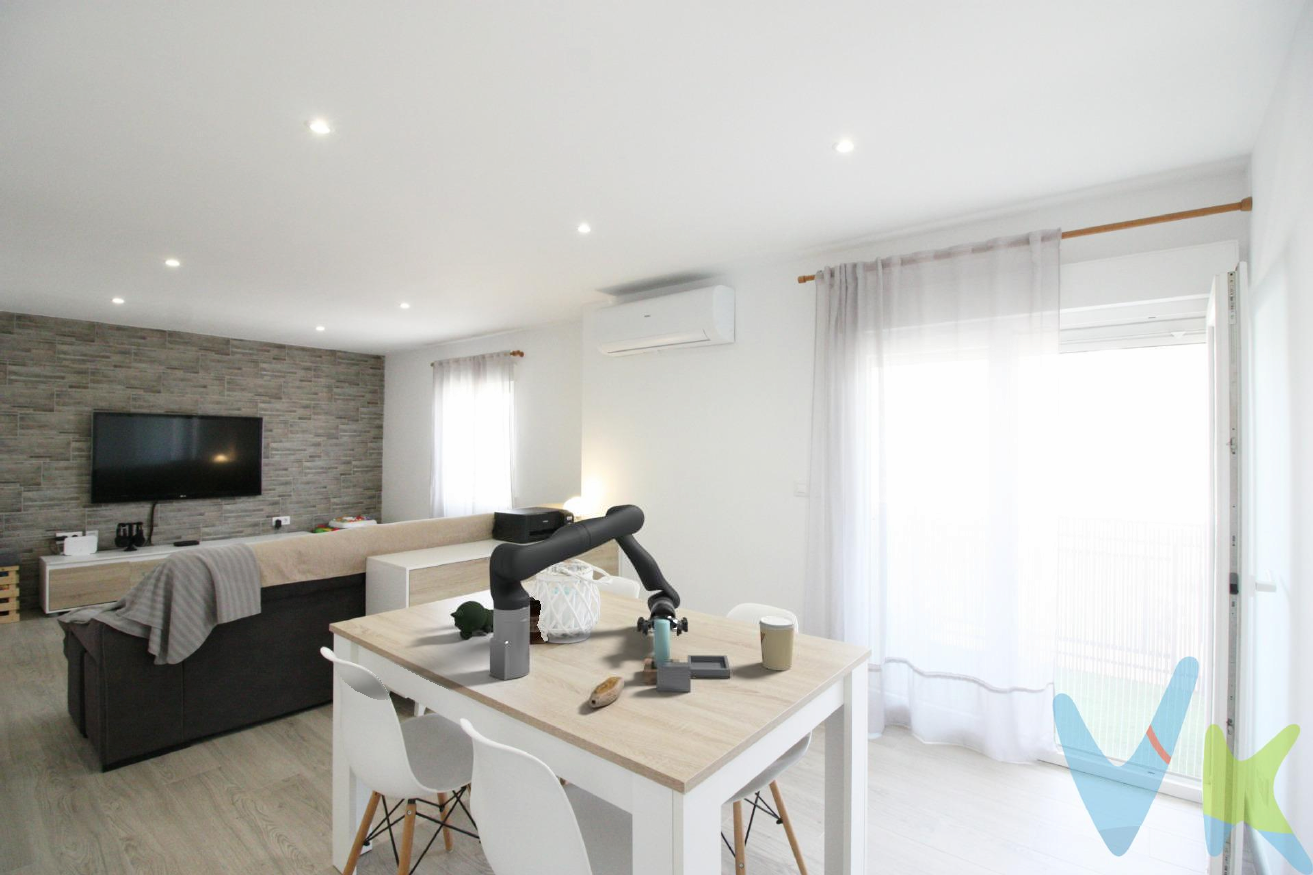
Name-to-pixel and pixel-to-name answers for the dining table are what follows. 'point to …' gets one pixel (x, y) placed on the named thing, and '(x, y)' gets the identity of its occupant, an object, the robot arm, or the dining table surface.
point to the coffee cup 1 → (535, 621)
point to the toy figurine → (472, 619)
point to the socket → (652, 671)
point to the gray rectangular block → (673, 677)
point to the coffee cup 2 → (777, 642)
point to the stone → (606, 692)
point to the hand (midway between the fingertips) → (662, 632)
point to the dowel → (661, 641)
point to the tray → (709, 666)
